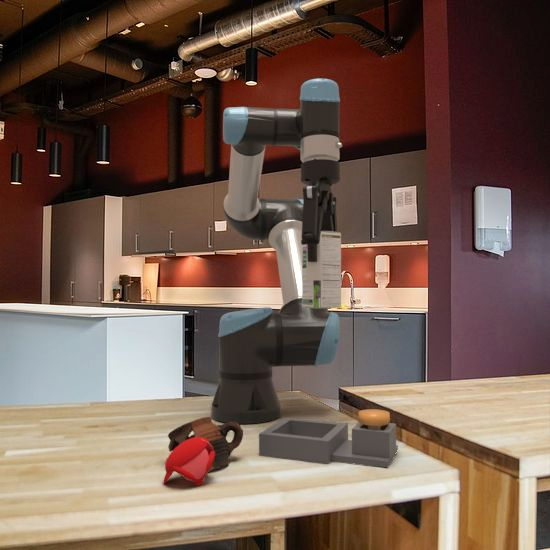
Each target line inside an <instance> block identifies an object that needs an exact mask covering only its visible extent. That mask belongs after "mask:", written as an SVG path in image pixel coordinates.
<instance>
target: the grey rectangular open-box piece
mask: <svg viewBox="0 0 550 550" xmlns="http://www.w3.org/2000/svg"><path fill="white" fill-rule="evenodd" d="M380 427H381V430H374V429H368V425H364V424H361V423H359V421H358V422H357V423H356V424H355V425H354V426H353V427H352V428H351V439H350V440H349V423H345V422H336V421H326V420H314V419H306V418H305V419H303V418H292V417H284V418H282V419H281V420H279V421H278V422H276V423H275V424H273V425H271V426H269V427H267V428H266V429H265V430H263V431H261V432H260V433H258V455H259V456H264V457H271V458H279V459H287V460H288V459H289V460H296V461H303V462H309V463H312V462H313V463H319V464H327V465H329V464H331V463H332V462H335V461H336V463H337V462H338V463H343V462H347V463H346V464H351V463H355V464H354V465H359V464H363V465H362V466H368V465H370V466H369V467H376V466H380V467H379V468H384V467H388V466H389V467H390V465H391V464H390V463H392V462H393V460H394V459H393V457H394V455H395V453H396V452H397V450H398V451H399V445H398V444H397V423H394V422H390V423H389V424H388V425H383V426H380ZM397 453H398V452H397ZM395 456H396V455H395ZM394 458H395V457H394ZM392 459H393V460H392ZM391 461H392V462H391ZM389 467H388V468H389Z"/></svg>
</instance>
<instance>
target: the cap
mask: <svg viewBox="0 0 550 550" xmlns="http://www.w3.org/2000/svg"><path fill="white" fill-rule="evenodd" d="M214 457H215V451H214V449H213V447H212V445H211V444H210V443H209V441H208V440H207V439H206V438H204V437H194V438H191V439H188V440H186V441H184V442H182V443H181V444H179V445H178V446H177V447H176V448H175V449H174V450H173V451H171V452H170V453H169V455H168V457H167V458H166V460H165V464H164V470H165V475H164V477H163V481H162V482H163V484H164V485H165V484H166V483H168V481H169V479H170V478H171V477H172V475H173V473H174V472H175V473H177V474H178V475H181V476H182V477H183V478H184V479H185V480H187V481H191V482H193V484H194V485H195V486H201V485H203V483H204V480H205V478H206V476H207V475H208V473H209V472H210V471H209V469H210V467H211V465H212V463H213V460H214ZM208 471H209V472H208Z"/></svg>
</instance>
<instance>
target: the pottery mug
mask: <svg viewBox="0 0 550 550" xmlns="http://www.w3.org/2000/svg"><path fill="white" fill-rule="evenodd" d="M230 431H232V432H233V438H232V440H231V441H230V442H229V441H228V440H227V436H228V434H229V432H230ZM191 433H193V434H191ZM190 434H191V435H190ZM243 436H244V429H242V426H241V425H240V424H238V423H236V422H227V423H226V422H224V423H223V424H215V423H213V420H212V417H211V416H204V417H201V418H197V419H194V420H191V421H190V422H187V423H184V424H182V425H180V426H178V427H176V428H174V429H173V430H172V431H171V432H169V433H168V434H167V437H168V439H169V440H170V441H169V443H168V447H167V448H168V451H169V452H170V453H171V452H172V451H173V450H174V449H175V448H176V447H177V446H178V445H179V444H181V443H182V442H184V441H186V440H188V439H191V438H194V437H204V438H206V439H207V440H208V441H209V443H210V444H211V445H212V447H213V449H214V451H215V457H214V460H213V463H212V465H211V467H210V469H209V471H208V473H209V472H211V471H213V470H216V469H221V468H224V467H226V466H229V462H230V460H229V458H230V456H231V455H232V452H233V451H234V450H235V449H237V448H238V447H239V446H240V445H241V443H242V441H243V438H244V437H243Z"/></svg>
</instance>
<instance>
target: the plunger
mask: <svg viewBox="0 0 550 550" xmlns="http://www.w3.org/2000/svg"><path fill="white" fill-rule="evenodd" d="M390 414H391V413H390V412H389V411H387V410H383V409H376V408H373V409H372V408H371V409H369V408H368V409H362V410H358V422H359V423H361V424H364V425H368V429H374V430H381V427H380V426H383V425H388V424H389V423H391V422H390V421H391V419H390V417H391V415H390Z"/></svg>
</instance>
